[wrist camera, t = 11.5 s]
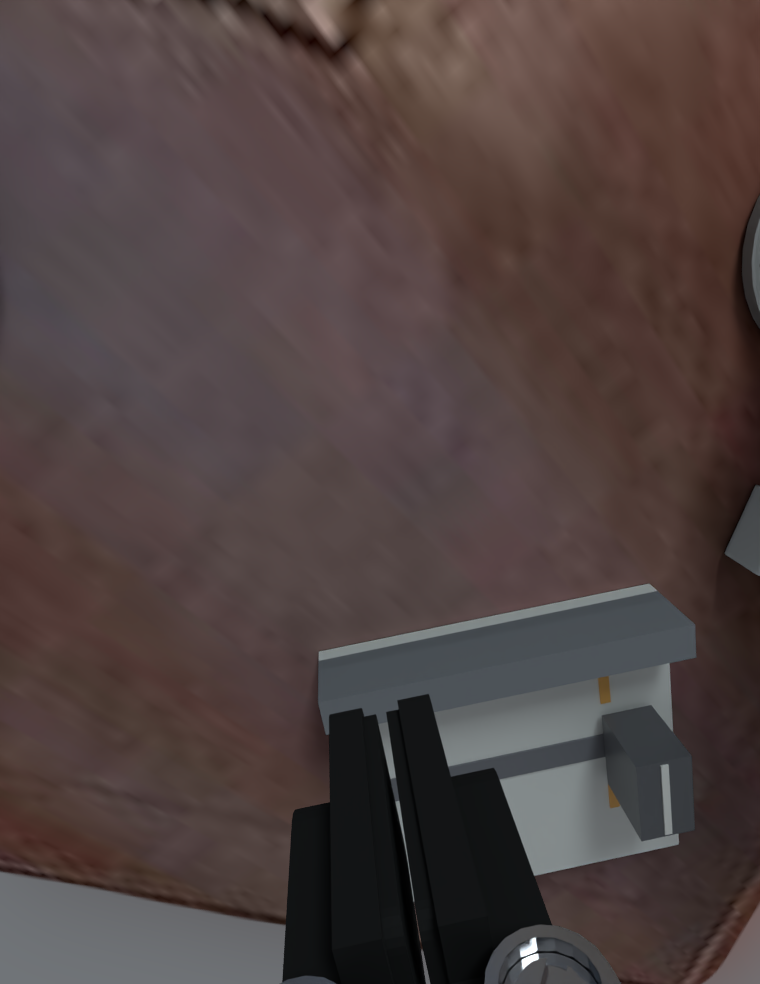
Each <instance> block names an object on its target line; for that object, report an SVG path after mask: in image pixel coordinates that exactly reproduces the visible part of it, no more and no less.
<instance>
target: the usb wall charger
mask: <svg viewBox="0 0 760 984" xmlns="http://www.w3.org/2000/svg"><path fill="white" fill-rule="evenodd" d="M724 554H725V555H727V556H728V557H730V558H731V559H733V560H735V561H736V562H738V563H739V564H741V565H742V566H744V567H745V568H747V569H748V570H750V571H752V572H753V573H755V574H756V575H758V576H760V485H755V487H754V489H753V491H752V494H751V496H750V498H749V500H748V502H747V505H746V507H745V509H744V511H743V513H742V516H741V518H740V520H739V522H738V524H737V527H736V529H735V531H734V533H733V535H732V538H731V540H730V542H729V544H728V546H727V548H726V551H725V553H724Z"/></svg>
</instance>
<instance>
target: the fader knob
mask: <svg viewBox="0 0 760 984" xmlns="http://www.w3.org/2000/svg"><path fill="white" fill-rule="evenodd" d="M602 725H603V735H604V746H605V757H606V768H607V779H608V785H609V786H610V788H611V790H612V791H613V793H614V795H615V797H616V798H617V800H618V802H619V804H620V805H621V807H622V809H623V810H624V812H625V814H626V816H627V817H628V819H629V821H630V822H631V824H632V826H633V828H634V829H635V831H636V833H637V835H638V836H639V838H640V840H641V841H646V840H651V839H656V838H660V837H665V836H670V835H674V834H679V833H683V832H688V831H693V830H695V824H694V800H693V776H692V756H691V754H690V753H689V752H688V751H687V749H686V748H685V747H684V746H683V744H682V743H681V742H680V741H679V739H678V738H677V737H676V735H675V734H674V733H673V732H672V730H671V729H670V728H669V727H668V725H667V724H666V723H665V722H664V720H663V719H662V718H661V717H660V715H659V714H658V713H657V712H656V710H655V709H654V708H653V707H652V705H649V706H644V707H639V708H634V709H630V710H625V711H620V712H615V713H611V714H606V715H602Z"/></svg>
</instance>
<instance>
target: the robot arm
mask: <svg viewBox="0 0 760 984" xmlns="http://www.w3.org/2000/svg"><path fill="white" fill-rule="evenodd" d="M742 278H743V285H744V292H745V298H746V300H747V303H748V306H749V309H750V312H751V314H752V317H753V319H754V321H755V322H756V324H757V326H758V327H759V329H760V195H759V197H758V199H757V201H756V204H755V207H754V209H753V212H752V215H751V217H750V220H749V223H748V226H747V231H746V236H745V241H744V246H743V256H742ZM397 702H398V708H399V709H398V710H393V711H389V712H386V715H387V722H388V728H389V735H390V742H391V748H392V755H393V762H394V768H395V775H396V782H397V788H398V795H399V802H400V809H401V815H402V822H403V829H404V835H405V842H406V849H407V855H408V861H407V855H406V849H405V844H404V839H403V834H402V830H401V825H400V821H399V816H398V812H397V807H396V802H395V798H394V793H393V789H392V784H391V779H390V775H389V770H388V766H387V761H386V756H385V752H384V747H383V743H382V738H381V733H380V729H379V724H378V720H377V716H376V714H374V715H369V716H365V717H364V713H363V710H362V708H358V709H353V710H348V711H344V712H339V713H334V714H330V715H329V762H330V802H329V803H324V804H320V805H315V806H310V807H305V808H301V809H296V810H295V811H294V813H293V818H292V830H291V847H290V864H289V881H288V897H287V914H286V931H285V948H284V964H283V981H282V983H281V984H426V982H425V975H424V968H423V961H422V955H421V948H420V941H419V934H418V928H417V921H416V915H417V920H418V926H419V931H420V937H421V942H422V947H423V951H424V956H425V960H426V965H427V969H428V974H429V978H430V983H431V984H621V983H620V981H619V979H618V978H617V976H616V974H615V973H614V971H613V969H612V968H611V966H610V964H609V963H608V962H607V960H606V959H605V958H604V956H603V955H602V954H601V953H600V951H599V950H598V949H597V948H596V946H594V945H593V944H592V943H590V942H589V941H588V940H586V939H585V938H584V937H582V936H581V935H579V934H578V933H575V932H573V931H570V930H568V929H565V928H562V927H560V926H552V924H551V921H550V918H549V915H548V913H547V910H546V907H545V904H544V902H543V899H542V896H541V893H540V891H539V888H538V885H537V882H536V879H535V877H534V874H533V871H532V868H531V866H530V863H529V860H528V857H527V855H526V852H525V849H524V846H523V844H522V841H521V838H520V835H519V832H518V830H517V827H516V824H515V821H514V819H513V816H512V813H511V810H510V808H509V805H508V802H507V799H506V797H505V794H504V791H503V788H502V785H501V783H500V780H499V777H498V775H497V772H496V770H495V769H494V768H489V769H485V770H480V771H475V772H470V773H466V774H461V775H456V776H452V777H451V775H450V771H449V768H448V764H447V760H446V756H445V752H444V749H443V745H442V741H441V737H440V733H439V730H438V726H437V722H436V718H435V714H434V711H433V707H432V703H431V699H430V696H429V694H425V695H420V696H416V697H411V698H406V699H401V700H397ZM408 862H409V867H408ZM409 869H410V874H409ZM410 875H411V880H410ZM411 882H412V887H411ZM412 889H413V894H412ZM413 895H414V901H413ZM414 902H415V907H414ZM415 908H416V914H415Z"/></svg>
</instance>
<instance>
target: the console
mask: <svg viewBox="0 0 760 984" xmlns="http://www.w3.org/2000/svg"><path fill="white" fill-rule="evenodd" d="M691 658H696V637H695V624H694V623H693V622H692V621H691V620H689V619H688V618H687V617H686V616H685V615H684V614H683V613H682V612H680V611H679V610H678V609H677V608H676V607H675V606H674V605H673V604H671V603H670V602H669V601H668V600H667V599H666V598H665V597H664V596H662V595H661V594H660V593H659V592H658V591H657V590H656V589H655V588H654V587H652V586H651V585H650V584H645V585H640V586H635V587H630V588H625V589H621V590H616V591H611V592H606V593H601V594H596V595H591V596H587V597H582V598H577V599H572V600H567V601H562V602H558V603H553V604H548V605H543V606H538V607H533V608H528V609H524V610H519V611H514V612H509V613H504V614H499V615H494V616H490V617H485V618H480V619H475V620H470V621H465V622H460V623H456V624H451V625H446V626H441V627H436V628H431V629H426V630H422V631H417V632H412V633H407V634H402V635H397V636H392V637H388V638H383V639H378V640H373V641H368V642H363V643H359V644H354V645H349V646H344V647H339V648H334V649H329V650H325V651H320V652H319V669H318V705H319V709H320V713H321V717H322V721H323V725H324V729H325V733H326V735H328V734H329V715H330V714H334V713H339V712H344V711H348V710H353V709H358V708H362V710H363V713H364V717H365V716H369V715H374V714H376V716H377V720H378V724H379V729H380V733H381V738H382V743H383V747H384V752H385V756H386V761H387V766H388V770H389V775H390V779H391V784H392V789H393V793H394V798H395V802H396V807H397V812H398V816H399V821H400V825H401V830H402V834H403V839H404V844H405V849H406V842H405V835H404V829H403V822H402V815H401V809H400V802H399V795H398V788H397V782H396V775H395V768H394V762H393V755H392V748H391V742H390V735H389V728H388V722H387V715H386V712H389V711H393V710H398V709H399V708H398V702H397V700H401V699H406V698H411V697H416V696H420V695H425V694H429V696H430V699H431V703H432V707H433V711H434V714H435V718H436V722H437V726H438V730H439V733H440V737H441V741H442V745H443V749H444V752H445V756H446V760H447V764H448V768H449V771H450V775H451V777H452V776H456V775H461V774H466V773H470V772H475V771H480V770H485V769H489V768H494V769H495V770H496V772H497V775H498V777H499V780H500V783H501V785H502V788H503V791H504V794H505V797H506V799H507V802H508V805H509V808H510V810H511V813H512V816H513V819H514V821H515V824H516V827H517V830H518V832H519V835H520V838H521V841H522V844H523V846H524V849H525V852H526V855H527V857H528V860H529V863H530V866H531V868H532V871H533V874H534V876H536V875H540V874H545V873H549V872H554V871H559V870H563V869H568V868H573V867H577V866H582V865H586V864H591V863H596V862H600V861H605V860H609V859H614V858H619V857H623V856H628V855H632V854H637V853H642V852H646V851H651V850H656V849H660V848H665V847H669V846H674V845H679V837H678V834H674V835H670V836H665V837H660V838H656V839H651V840H646V841H641V840H640V838H639V836H638V835H637V833H636V831H635V829H634V828H633V826H632V824H631V822H630V821H629V819H628V817H627V816H626V814H625V812H624V810H623V809H622V807H621V805H620V804H619V802H618V800H617V798H616V797H615V795H614V793H613V791H612V790H611V788H610V786H609V785H608V779H607V768H606V757H605V746H604V735H603V725H602V715H606V714H611V713H615V712H620V711H625V710H630V709H634V708H639V707H644V706H649V705H652V707H653V708H654V709H655V710H656V712H657V713H658V714H659V715H660V717H661V718H662V719H663V720H664V722H665V723H666V724H667V725H668V727H669V728H670V729H671V730H672V732H673V722H672V703H671V683H670V664H669V663H672V662H677V661H682V660H687V659H691ZM406 855H407V849H406ZM407 861H408V855H407ZM408 867H409V862H408ZM409 874H410V869H409ZM410 880H411V875H410ZM411 887H412V882H411ZM412 894H413V889H412ZM413 901H414V895H413Z"/></svg>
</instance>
